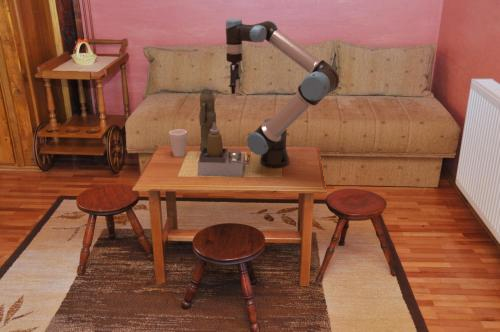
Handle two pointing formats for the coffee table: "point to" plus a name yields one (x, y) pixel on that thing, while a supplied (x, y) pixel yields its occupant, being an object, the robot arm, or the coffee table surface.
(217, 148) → the squeeze bottle
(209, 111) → the dark brown statue
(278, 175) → the coffee table surface
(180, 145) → the foam cup
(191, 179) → the coffee table surface
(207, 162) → the grey box with recess
